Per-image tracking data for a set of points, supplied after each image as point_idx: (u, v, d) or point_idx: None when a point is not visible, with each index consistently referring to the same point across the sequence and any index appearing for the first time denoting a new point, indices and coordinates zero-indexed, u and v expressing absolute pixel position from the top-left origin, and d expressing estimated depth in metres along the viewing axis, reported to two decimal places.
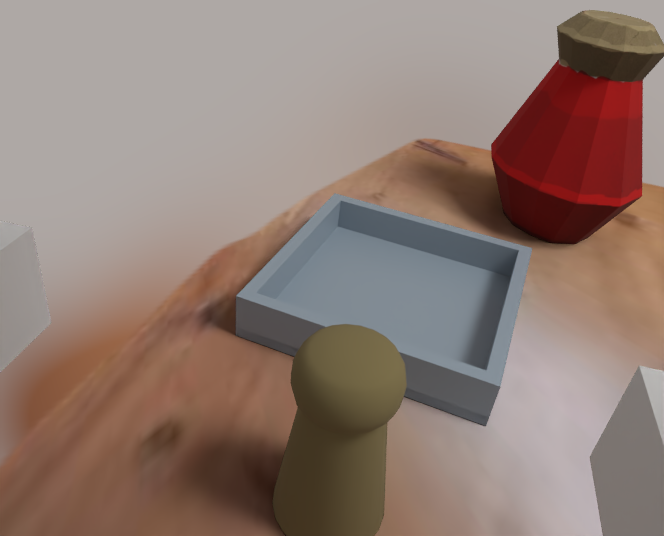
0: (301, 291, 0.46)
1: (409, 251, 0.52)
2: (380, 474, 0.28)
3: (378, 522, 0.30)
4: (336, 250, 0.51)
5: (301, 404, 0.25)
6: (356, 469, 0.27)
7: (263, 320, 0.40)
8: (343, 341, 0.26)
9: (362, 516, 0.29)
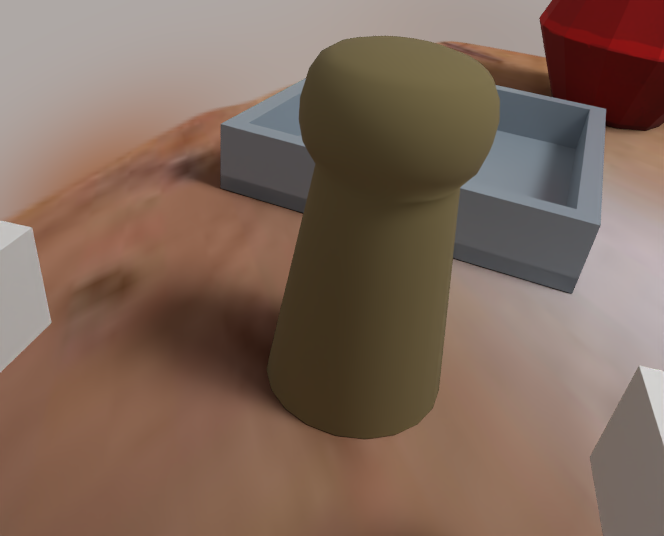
0: None
1: None
2: (443, 301, 0.17)
3: (433, 394, 0.19)
4: None
5: (318, 138, 0.14)
6: (409, 274, 0.16)
7: (258, 159, 0.29)
8: (391, 39, 0.15)
9: (411, 371, 0.18)
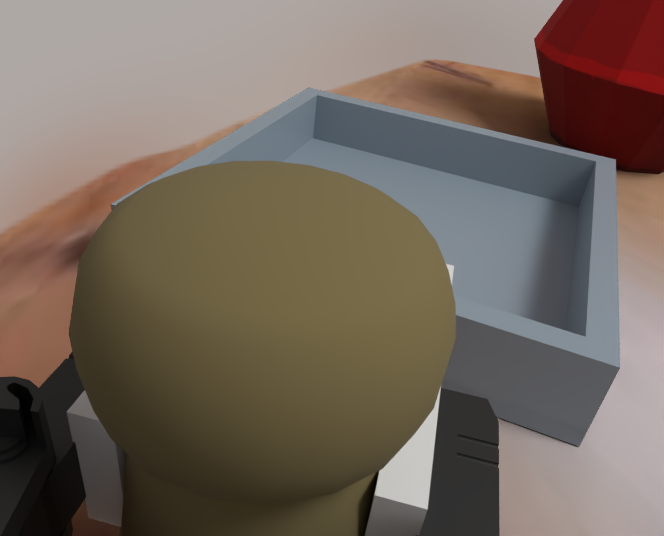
0: None
1: (421, 170, 0.34)
2: None
3: None
4: None
5: (88, 396, 0.07)
6: None
7: None
8: (246, 186, 0.08)
9: None
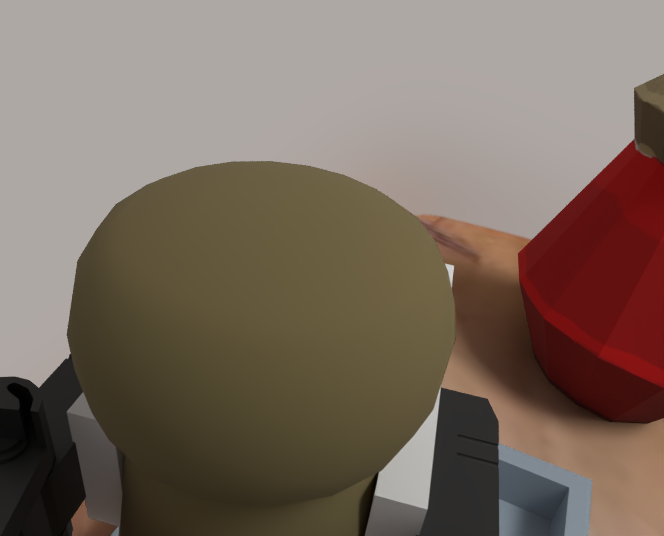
0: None
1: None
2: None
3: None
4: None
5: (86, 398, 0.07)
6: None
7: None
8: (245, 187, 0.08)
9: None
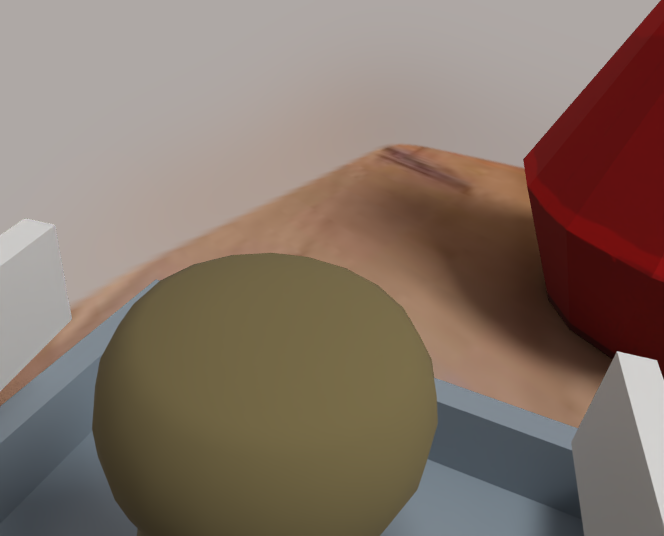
0: None
1: None
2: None
3: None
4: None
5: (110, 486, 0.08)
6: None
7: None
8: (249, 291, 0.09)
9: None
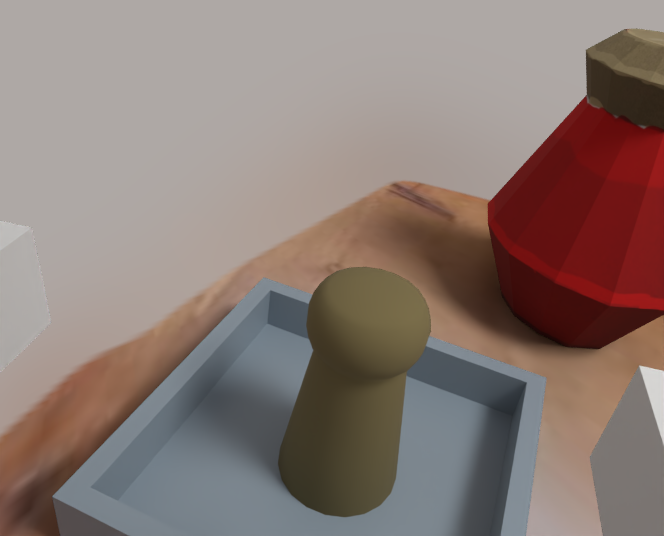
0: (189, 452, 0.29)
1: None
2: (397, 430, 0.27)
3: (391, 484, 0.28)
4: (258, 368, 0.35)
5: (318, 346, 0.23)
6: (374, 420, 0.25)
7: None
8: (364, 281, 0.24)
9: (376, 474, 0.27)
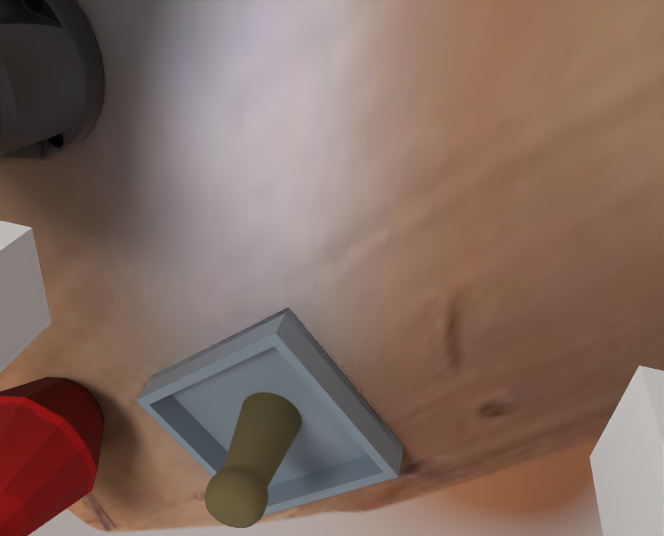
0: (336, 453, 0.57)
1: (224, 442, 0.60)
2: (242, 430, 0.52)
3: (253, 398, 0.55)
4: (282, 470, 0.60)
5: (267, 498, 0.48)
6: (254, 446, 0.50)
7: (387, 450, 0.53)
8: (231, 520, 0.47)
9: (261, 413, 0.53)
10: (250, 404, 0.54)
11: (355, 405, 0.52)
